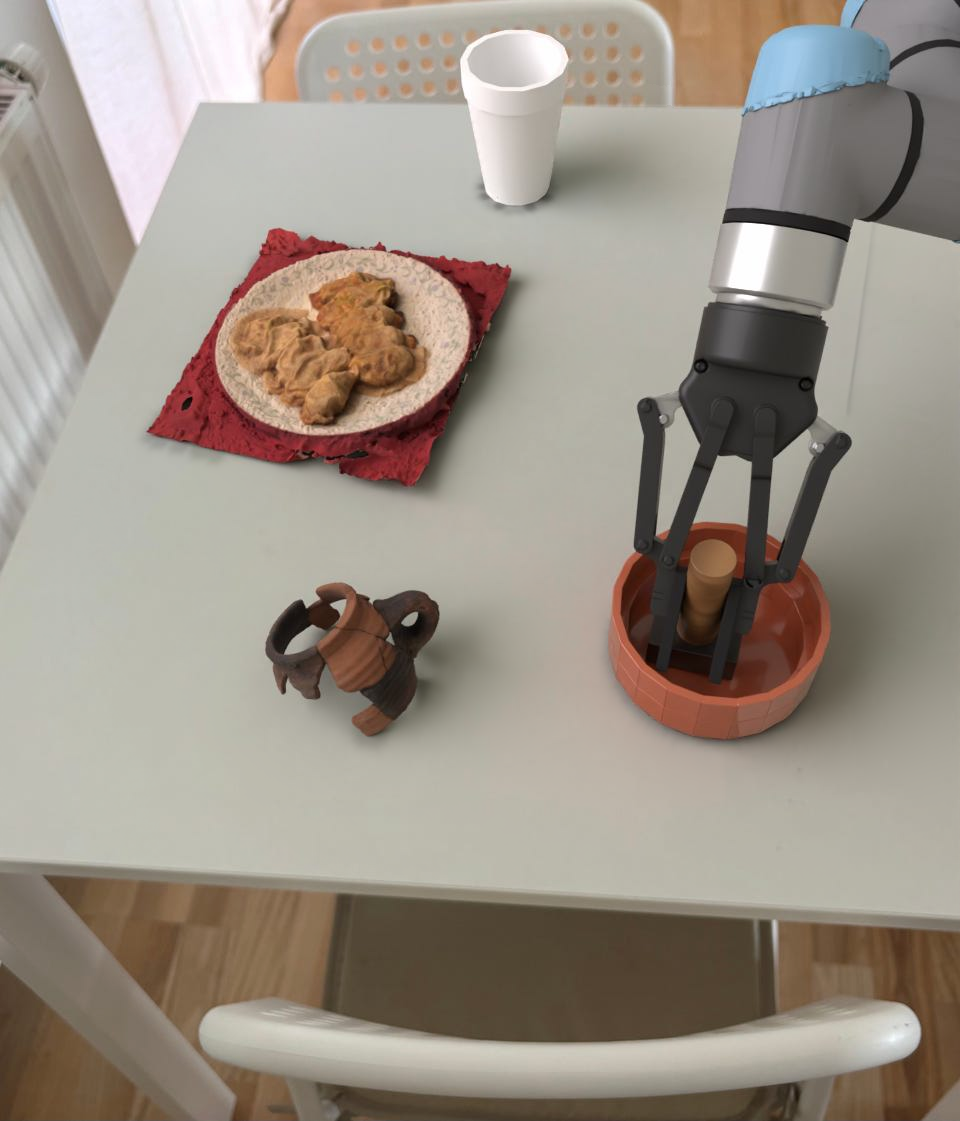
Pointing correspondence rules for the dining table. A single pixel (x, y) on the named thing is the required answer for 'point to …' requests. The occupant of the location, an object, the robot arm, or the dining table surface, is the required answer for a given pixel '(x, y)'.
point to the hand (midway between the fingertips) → (688, 670)
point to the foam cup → (515, 110)
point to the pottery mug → (356, 649)
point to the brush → (701, 612)
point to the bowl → (764, 658)
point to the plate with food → (336, 356)
